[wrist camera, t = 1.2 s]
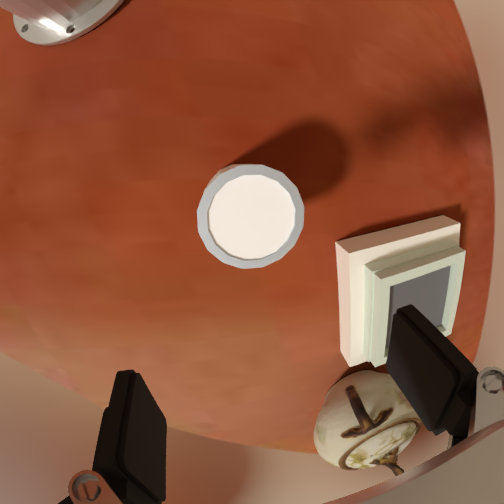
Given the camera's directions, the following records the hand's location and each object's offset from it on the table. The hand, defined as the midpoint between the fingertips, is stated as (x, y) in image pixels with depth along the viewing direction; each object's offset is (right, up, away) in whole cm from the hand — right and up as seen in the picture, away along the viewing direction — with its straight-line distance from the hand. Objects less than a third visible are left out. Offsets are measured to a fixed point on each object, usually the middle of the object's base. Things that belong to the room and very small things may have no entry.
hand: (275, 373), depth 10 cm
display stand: (+15, 0, +21) cm, 26 cm away
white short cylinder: (-2, +9, +16) cm, 18 cm away
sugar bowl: (+13, -15, +28) cm, 34 cm away
